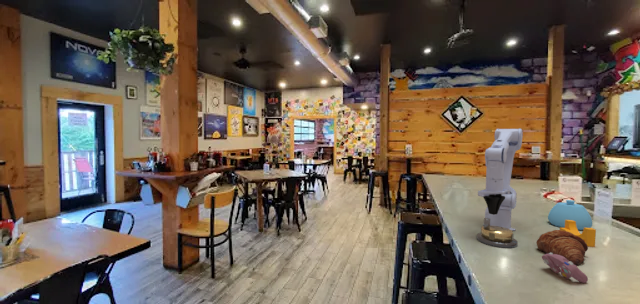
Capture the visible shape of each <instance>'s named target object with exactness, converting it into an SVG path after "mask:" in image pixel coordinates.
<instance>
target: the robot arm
mask: <svg viewBox="0 0 640 304" xmlns="http://www.w3.org/2000/svg"><path fill="white" fill-rule="evenodd" d="M523 135H524V133H523V129H522V128H496V129H495V131H494V141H493V142H492V144H491V146H490V147H488V148H486V149H485V151H484V161H485V167H486V168H485V169H486V173H485V174H486V175H485V189H481V190H477V197H481V198H483V199H484V201H485V203H486V206H487V207H486V208H485V210H484V218H489V219H490V226H499V227H504V228H507V229H510V230H512V231H513V232H514V231H517V230H516V228H513V227H512V210H514V209H515V208H516V207H517V196H518V195H517V191H516V189H515V188H513V187H512V186H511V179H512V173H513V172H512V171H513V165H514V159H515V154H516V152H517V151H519V150H521V148H522V145H523ZM482 226H484V223H483V224H482Z"/></svg>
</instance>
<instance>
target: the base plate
mask: <svg viewBox="0 0 640 304" xmlns="http://www.w3.org/2000/svg"><path fill="white" fill-rule="evenodd" d="M476 240H477V241H478V242H480V243H481V244H484V245H485V246H490V247H494V248H501V249H513V248H517V247H518V243H519V242H518V240H517V239H515V238H514V239H513V241H512V242H496V241H492V240H488V239H486V238H484V237H482V236H481V232H479V233H477V234H476Z"/></svg>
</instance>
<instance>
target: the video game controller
mask: <svg viewBox="0 0 640 304" xmlns="http://www.w3.org/2000/svg"><path fill="white" fill-rule="evenodd" d="M541 259H542V261H543V262H544V264H546V265H547V266H548V267H549V268H550V269H551V271H552V272H554V274H559V273H560V274H561V276H562V277H563V278H564V279H566V280H568V279H570V278H573V279H574V280H576V281H577V282H579V283H582V284H585V283H587V282H588V280H589V279H588V276H587V275H586V274H585V272H583V271H582V270H580V269H579V267H578V265H574V264H573V263H572V262H571V261H568V260H567V259H566V258H565V257H563V256H561V255H557V254H553V253H551V252H550V253H549V254H547V253H545V254H543V255H542V256H541Z"/></svg>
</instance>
